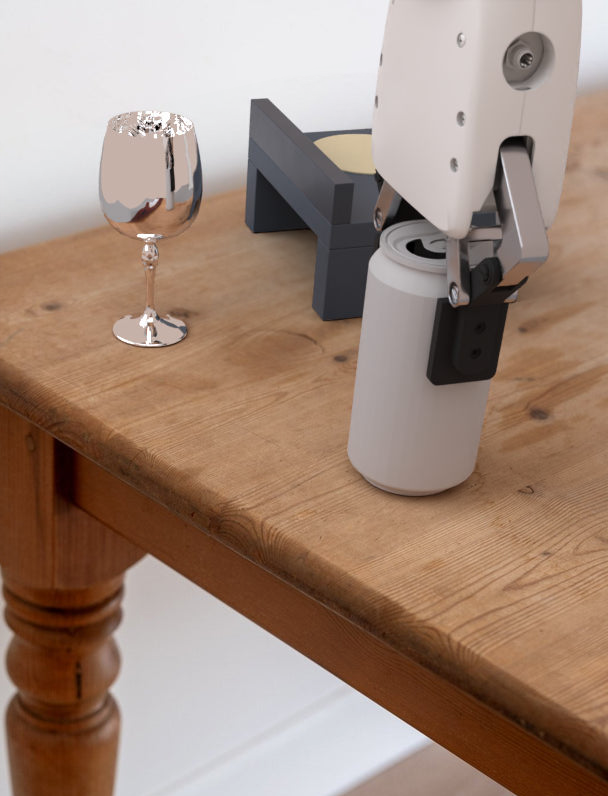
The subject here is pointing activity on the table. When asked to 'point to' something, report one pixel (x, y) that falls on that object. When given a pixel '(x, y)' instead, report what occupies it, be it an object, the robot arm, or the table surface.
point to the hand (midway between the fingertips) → (428, 341)
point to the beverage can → (411, 372)
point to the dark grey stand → (319, 200)
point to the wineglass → (150, 202)
